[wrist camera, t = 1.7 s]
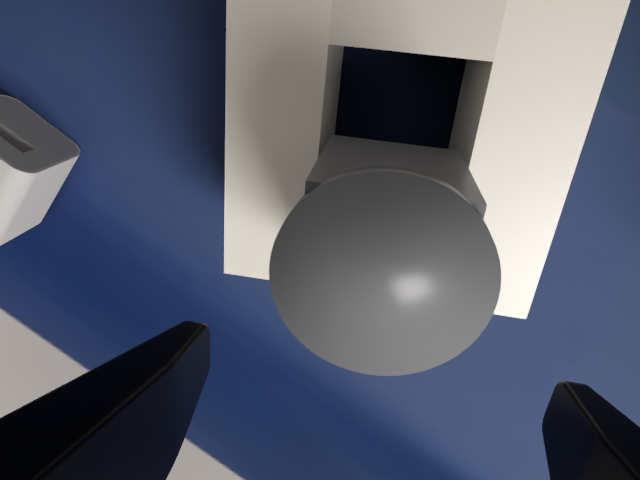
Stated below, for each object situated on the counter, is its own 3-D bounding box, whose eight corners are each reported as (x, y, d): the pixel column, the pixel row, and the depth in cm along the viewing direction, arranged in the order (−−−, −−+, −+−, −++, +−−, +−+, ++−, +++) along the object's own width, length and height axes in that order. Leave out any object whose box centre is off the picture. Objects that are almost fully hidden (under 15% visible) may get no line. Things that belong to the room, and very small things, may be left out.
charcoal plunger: (483, 133, 15) (529, 191, 10) (448, 282, 17) (471, 391, 12) (314, 113, 15) (274, 158, 10) (301, 260, 17) (264, 356, 12)
